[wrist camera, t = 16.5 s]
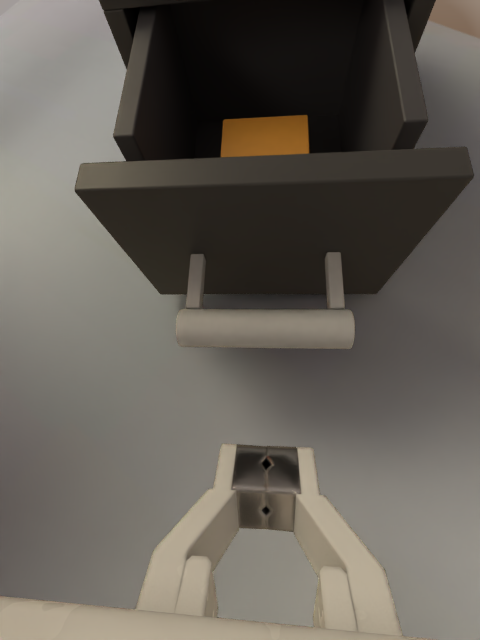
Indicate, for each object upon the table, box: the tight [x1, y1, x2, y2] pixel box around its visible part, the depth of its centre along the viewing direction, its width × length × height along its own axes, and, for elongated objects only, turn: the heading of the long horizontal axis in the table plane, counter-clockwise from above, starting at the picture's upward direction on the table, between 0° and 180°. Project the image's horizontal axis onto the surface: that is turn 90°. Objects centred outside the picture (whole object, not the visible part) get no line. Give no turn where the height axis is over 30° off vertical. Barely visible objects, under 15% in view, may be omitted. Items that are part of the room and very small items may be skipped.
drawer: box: [75, 0, 474, 349], centre depth 15 cm, size 17×13×9 cm
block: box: [221, 115, 309, 157], centre depth 17 cm, size 4×4×4 cm
